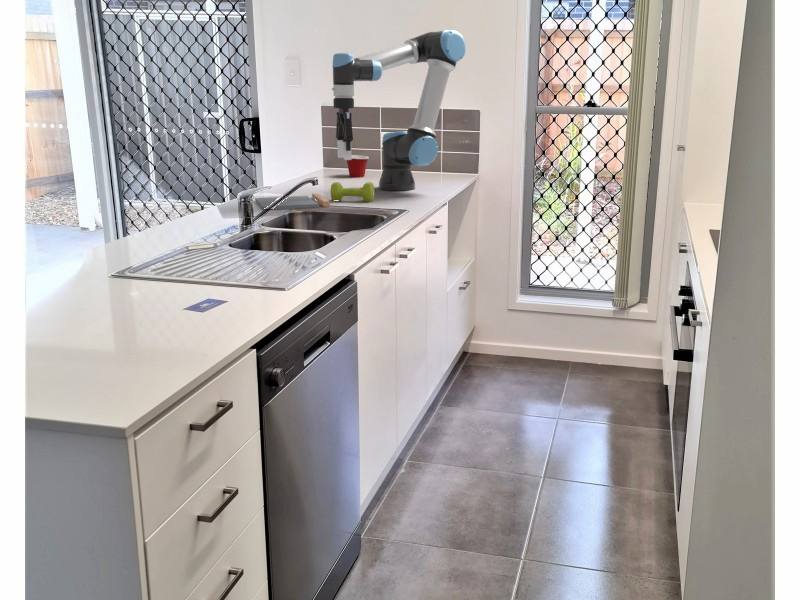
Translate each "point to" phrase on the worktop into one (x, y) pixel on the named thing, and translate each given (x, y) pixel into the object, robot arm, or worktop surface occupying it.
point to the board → (288, 202)
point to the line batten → (321, 200)
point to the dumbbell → (352, 191)
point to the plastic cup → (357, 166)
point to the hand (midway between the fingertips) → (344, 158)
